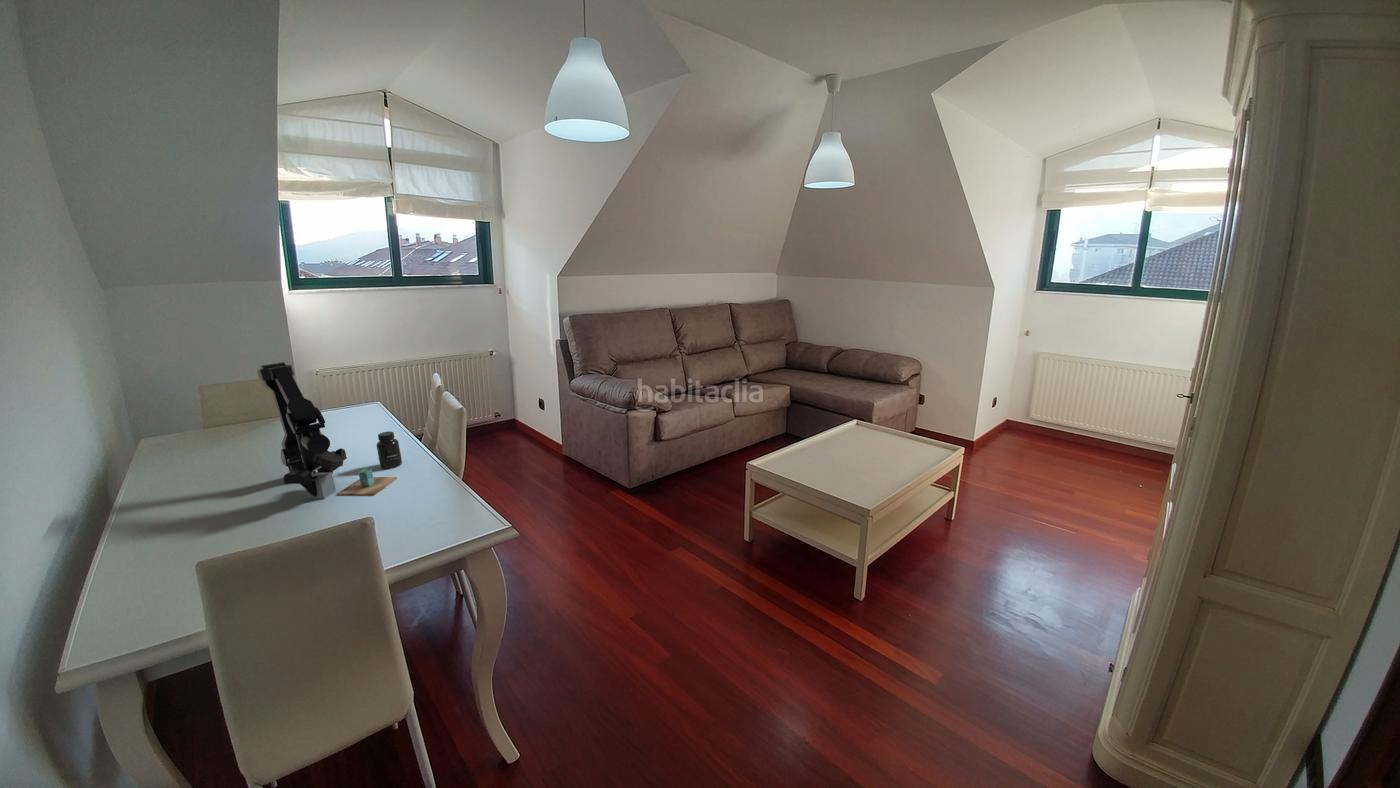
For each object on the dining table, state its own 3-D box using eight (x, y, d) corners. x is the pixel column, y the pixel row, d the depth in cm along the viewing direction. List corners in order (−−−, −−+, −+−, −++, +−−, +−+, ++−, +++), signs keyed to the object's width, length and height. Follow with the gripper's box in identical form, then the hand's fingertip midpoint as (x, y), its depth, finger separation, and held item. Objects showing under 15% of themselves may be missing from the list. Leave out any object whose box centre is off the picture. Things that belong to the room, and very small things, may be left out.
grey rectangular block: (308, 498, 167) (303, 479, 165) (320, 491, 172) (316, 472, 170) (324, 498, 166) (319, 479, 164) (336, 491, 171) (331, 472, 169)
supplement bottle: (392, 469, 187) (386, 437, 183) (376, 468, 188) (369, 436, 185) (407, 462, 193) (400, 430, 190) (390, 460, 194) (384, 429, 191)
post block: (337, 495, 169) (333, 478, 167) (363, 478, 180) (359, 463, 179) (374, 495, 168) (370, 479, 166) (397, 478, 179) (394, 463, 178)
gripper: (312, 457, 155) (324, 506, 159) (356, 435, 173) (365, 479, 177) (276, 457, 156) (288, 506, 160) (323, 434, 173) (333, 479, 178)
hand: (321, 492), depth 169 cm, fingers closed on grey rectangular block, 5 cm apart
